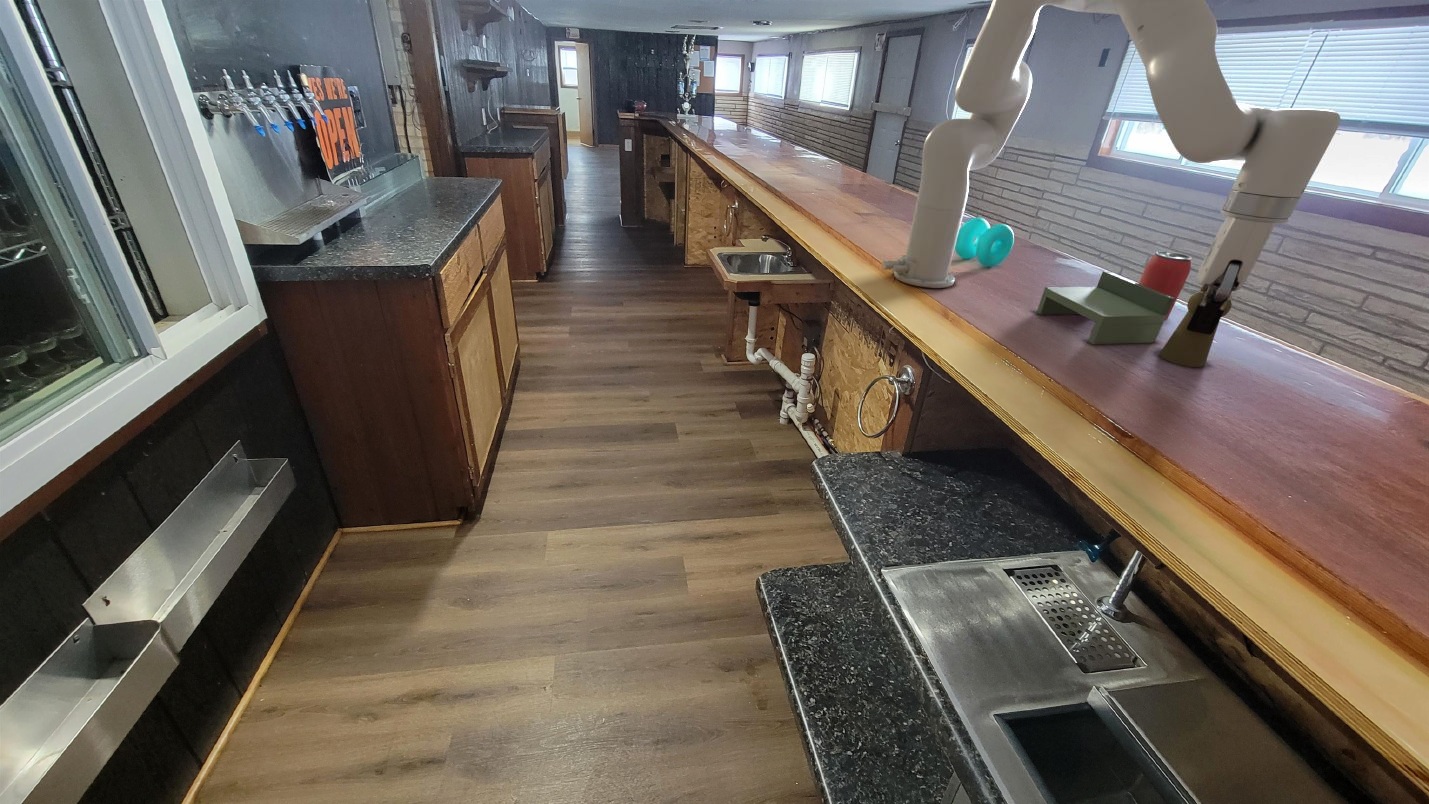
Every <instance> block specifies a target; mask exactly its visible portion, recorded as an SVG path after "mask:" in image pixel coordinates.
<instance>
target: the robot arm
mask: <svg viewBox="0 0 1429 804" xmlns="http://www.w3.org/2000/svg"><path fill="white" fill-rule="evenodd" d="M1046 6H1054V7H1056V8H1061V9H1064V10H1068V11H1072V12H1080V13H1091V14H1093V13H1094V14H1106V15H1118V16H1119V17H1120V19H1121V22H1122V24H1123V25H1124V27H1125V29H1126V31H1127V34H1128V35H1129V37H1130V39H1131V42H1132V43H1133V46H1134V47H1135V49H1136V52H1137V54H1138V55H1139V58H1140V59H1141V61H1142V64H1143V65H1144V69H1145V76H1146V81H1147V83H1148V84H1147V85H1148V86H1149V92H1150V95H1151V98H1152V99H1151V100H1152V102H1153V104H1154V108H1155V111H1156V113H1157V115H1158V117H1159V119H1160V121H1161V123H1162V125H1163V127H1164V130H1165V131H1166V133H1167V135H1168V137H1169V139H1170V141H1171V144H1172V145H1173V147H1174V148H1175V150H1176V151H1177V153H1178V154H1179V155H1180V156H1181V157H1183V158H1184V159H1185V160H1187V161H1189V162H1192V163H1196V164H1210V163H1216V162H1218V163H1219V162H1232V161H1242V162H1243V161H1244V162H1243V164H1242V166H1241V168H1240V170H1239V173H1238V175H1237V177H1236V179H1235V181H1234V183H1233V186H1232V188H1231V189H1230V191H1229V194H1228V195H1227V197H1226V200H1225V202H1224V204H1223V206H1222V209H1221V210H1220V211H1219V213H1220V214H1221V215H1223V216H1225V217H1226V218H1225V219H1224V221H1223V223H1222V224H1221V226H1220V228H1219V230H1218V232H1217V233H1216V236H1215V237H1214V240H1213V241H1212V243H1211V245H1210V247H1209V249H1208V250H1207V253H1206V255H1205V257H1204V259H1203V261H1202V263H1201V264H1200V267H1199V268H1198V270H1197V281H1198V284H1199V285H1200V286H1202V287H1201V288H1200V289H1199V292H1202V291H1204V292H1206V293H1205V296H1204V298H1203V300H1202V302H1201V305H1197V307H1196V309H1195V311H1194V313H1193V315H1192V317H1191V319H1190V321H1189V323H1188V326H1187V330H1189V331H1194V332H1198V333H1203V334H1208V335H1211V334H1212V333H1213V332H1214V330H1215V328H1216V326H1217V324H1218V322H1219V323H1220V321H1221V319H1222V317H1221V316H1222V314H1223V312H1224V308H1225V306H1226V304H1227V302H1228V300H1229V298H1230V297H1231V295H1232V293H1233V292H1237V291H1240V290H1241V289H1242V288H1243V286H1244V284H1245V283H1246V281H1247V280H1248V279H1249V276H1250V275H1251V273H1252V272H1253V269H1254V267H1255V265H1256V263H1257V261H1259V258H1260V256H1261V253H1262V252H1263V250H1264V248H1265V246H1266V245H1267V242H1268V240H1269V239H1270V237H1271V234H1272V232H1273V230H1274V228H1275V226H1276V224H1286V223H1289V220H1290V218H1291V217H1292V215H1293V213H1294V211H1295V209H1296V207H1297V205H1298V204H1299V201H1300V200H1301V197H1302V196H1303V195H1304V192H1305V191H1306V188H1307V187H1308V185H1309V184H1310V183H1309V182H1310V180H1311V179H1312V177H1313V176H1314V174H1315V172H1316V170H1317V168H1318V166H1319V165H1320V162H1321V161H1322V158H1323V157H1324V154H1325V153H1326V151H1327V149H1328V147H1329V146H1330V144H1331V142H1332V140H1333V138H1334V136H1335V134H1336V132H1337V130H1338V129H1339V127H1340V124H1341V115H1340V114H1339V113H1338V112H1336V111H1334V110H1329V109H1318V108H1296V107H1295V108H1293V107H1292V108H1291V107H1289V108H1287V107H1285V108H1279V109H1273V108H1266V107H1260V106H1255V105H1252V104H1251V105H1250V104H1245V103H1238V102H1237V100H1236V98H1235V96H1234V94H1233V92H1232V91H1231V89H1230V86H1229V85H1228V83H1227V81H1226V79H1225V76H1224V75H1223V72H1222V69H1221V68H1220V63H1219V61H1218V58H1217V54H1216V53H1217V52H1216V41H1217V37H1218V31H1219V30H1218V29H1219V28H1218V22H1217V20H1216V18H1215V16H1214V14H1213V12H1212V10H1211V8H1210V7H1209V5H1208V3H1207V1H1206V0H992V2H991V6H990V8H989V10H988V12H987V15H986V18H985V19H984V22H983V24H982V27H981V29H980V30H979V33H978V34H977V37H976V39H975V41H974V44H973V47H972V48H971V51H970V53H969V55H968V58H967V60H966V62H965V65H964V66H963V69H962V71H961V74H960V76H959V78H958V81H957V82H956V83H957V84H956V85H955V86H956V87H955V91H954V100H955V103H956V105H957V106H958V108H959V109H960V110H962V111H964V112H966V113H969V116H968V118H951V119H947V120H944V121H942V122H940V123H938V124H937V125H935V126H934V127H933V128H932V129H931V130H930V131H929V133H928V135H926V139H925V141H924V143H923V147H922V153H921V154H922V157H921V175H920V182H919V189H918V193H917V199H916V204H915V208H914V213H913V217H912V223H911V227H910V232H909V237H908V241H907V246H906V251H905V254H902V255H900V257H899V258H898V259H896V260H883V261H882V263H881V268H882V270H885V271H886V270H892V272H893V273H894V274H893V276H894V278H895V279H896V280H897V281H900V282H902V283H903V284H904V283H905V284H907V285H911V286H915V287H920V288H921V287H922V288H931V289H942V288H948V287H951V286H953V285H954V284H955V279H956V277H954V275H952V274H951V273H950V270H951V269H950V268H951V264H952V261H953V255H954V253H955V245H956V241H957V237H958V233H959V229H960V228H961V226H962V221H963V217H964V214H965V210H966V205H967V201H968V195H969V187H970V180H969V179H970V178H969V177H970V175H969V174H970V171H975V170H980V169H982V168H986V167H987V166H989V165H991V164H992V163H993V162H994V161H995V160H996V158H998V156H999V154H1000V153H1001V151H1002V150H1003V148H1004V147H1005V145H1006V142H1007V140H1008V139H1009V137H1010V135H1011V133H1012V131H1013V129H1014V127H1015V125H1016V124H1017V121H1018V120H1019V117H1020V115H1021V114H1022V112H1023V110H1024V108H1025V106H1026V104H1027V102H1028V99H1029V98H1030V94H1031V90H1032V85H1033V75H1032V71H1031V69H1030V67H1029V65H1028V64H1027V63H1026V62H1025V61H1024V60H1022V59H1023V56H1024V54H1025V51H1026V50H1027V48H1028V46H1029V44H1030V42H1031V41H1032V38H1033V35H1034V33H1035V30H1036V27H1037V23H1038V18H1039V13H1040V10H1041V9H1042V8H1043V7H1046ZM1212 292H1213V293H1212ZM1211 293H1212V294H1211ZM1230 299H1231V298H1230ZM1219 320H1220V321H1219ZM1218 325H1219V324H1218Z"/></svg>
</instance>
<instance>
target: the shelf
mask: <svg viewBox="0 0 1429 804" xmlns="http://www.w3.org/2000/svg"><path fill="white" fill-rule="evenodd" d="M1138 283H1139V282H1135V281H1133V280H1130V279H1128V278H1125V277H1122V276H1120V275H1118V274H1115V273H1113V272H1110V271H1108V270H1105V271H1104V270H1103V271H1102V273H1101V275H1100V277H1099V280H1098V282H1097V285H1096V286H1058V287H1057V286H1054V287H1053V286H1047V287H1046V286H1045V287H1044V288H1043V291H1042V295H1041V297H1040V300H1039V303H1038V306H1037V309H1036V313H1037V314H1039V315H1081V316H1083V317H1085V318H1086V319H1089V320H1091V321H1093V322H1095V323H1094V326H1093V328H1092V330H1091V333H1090V335H1089V338H1088V341H1087V342H1088V343H1090V344H1092V345H1108V344H1109V345H1110V344H1112V345H1113V344H1147V343H1148V344H1149V343H1151V344H1152V343H1155V342H1156V339H1157V337H1158V335H1159V334H1160V331H1161V329H1162V327H1163V325H1164V322H1165V321H1166V320H1165V318H1166V316H1167V314H1168V312H1169V309H1170V307H1171V305H1172V303H1173V301H1174V299H1175V298H1173V297H1170V296H1168V295H1165V294H1163V293H1160V292H1158V291H1155V290H1153V289H1150V288H1148V287H1145V286H1143V285H1140V284H1138ZM1164 320H1165V321H1164Z"/></svg>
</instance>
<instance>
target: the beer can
mask: <svg viewBox="0 0 1429 804" xmlns="http://www.w3.org/2000/svg"><path fill="white" fill-rule="evenodd" d="M1192 260H1193V258H1192V257H1191V256H1190V255H1187V254H1184V253H1181V252H1180V253H1179V252H1174V251H1168V250H1167V251H1166V250H1158V251H1155V252H1154V254H1153V256H1152V257H1151V258H1150V259H1149V260H1148V261H1147V263H1146V265H1145V268H1144V269H1143V272H1142V274H1141V276H1140V279H1139V282H1137V283H1138V284H1140V285H1143V286H1145V287H1148V288H1150V289H1153V290H1155V291H1158V292H1160V293H1163V294H1165V295H1168V296H1170V297H1173V298H1175V299H1174V301H1173V303H1172V305H1171V307H1170V309H1169V312H1168V314H1167V316H1166V318H1165V320H1164V322H1165V321H1167V320H1168V319H1169V317H1170V314H1171V313H1172V310H1173V308H1174V307H1175V304H1176V302H1177V300H1178V298H1179V296H1180V294H1181V291H1182V289H1183V287H1184V286H1185V284H1186V281H1187V279H1188V277H1189V275H1190V272H1191V268H1192Z"/></svg>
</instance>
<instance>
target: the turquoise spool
mask: <svg viewBox="0 0 1429 804" xmlns="http://www.w3.org/2000/svg"><path fill="white" fill-rule="evenodd" d="M1014 242H1015V236H1014V231H1013V229H1012V228H1011V227H1010V226H1009V225H1007V224H1004V223H997V224H994V225H992V226H991V225H990V224H989V222H988V221H987V220H986V219H984V218H983V217H979V216H978V217H972V218H970V219H968V220H966V221H965V222H964V223H963V224H961V225H960V229H959V233H958V237H957V241H956V245H955V249H954V252H955V253H956V255H957V256H958V257H960V258H962V259H964V260H971V259H974V258H976V259H977V262H979V264H981V265H982V266H983V267H986V268H993V267H996V266H998V265H1000V264H1002V262H1004V261H1005V260H1006V258H1008V256H1009V254H1010V253H1011V251H1012V249H1013V247H1014Z"/></svg>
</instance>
